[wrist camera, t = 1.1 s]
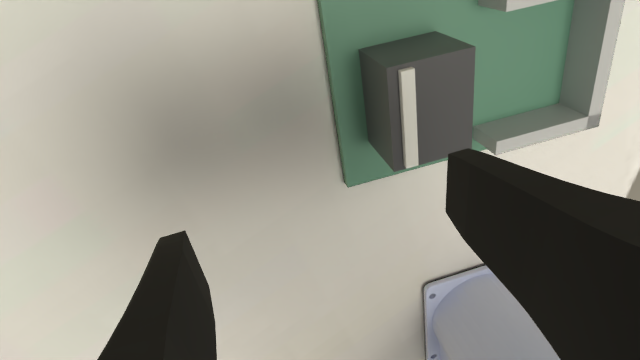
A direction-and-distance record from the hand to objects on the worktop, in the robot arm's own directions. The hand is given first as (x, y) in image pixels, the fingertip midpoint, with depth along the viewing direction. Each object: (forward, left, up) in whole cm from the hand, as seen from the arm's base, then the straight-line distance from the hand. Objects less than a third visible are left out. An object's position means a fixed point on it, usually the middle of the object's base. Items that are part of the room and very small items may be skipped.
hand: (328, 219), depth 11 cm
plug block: (-1, -7, -11) cm, 13 cm away
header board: (-1, -11, -11) cm, 15 cm away
